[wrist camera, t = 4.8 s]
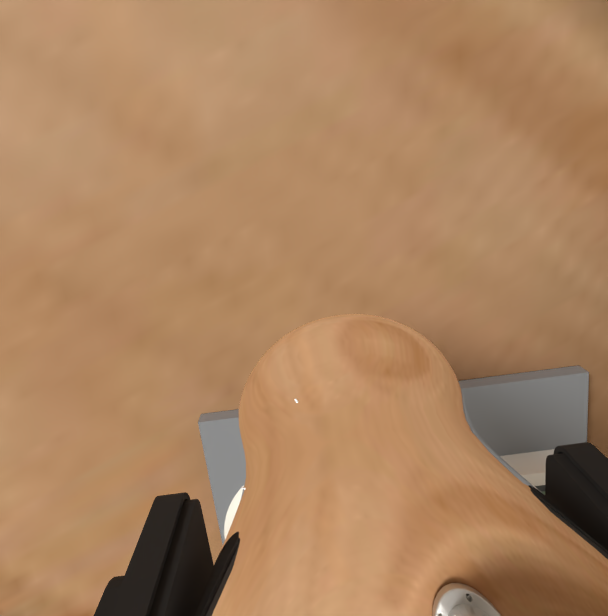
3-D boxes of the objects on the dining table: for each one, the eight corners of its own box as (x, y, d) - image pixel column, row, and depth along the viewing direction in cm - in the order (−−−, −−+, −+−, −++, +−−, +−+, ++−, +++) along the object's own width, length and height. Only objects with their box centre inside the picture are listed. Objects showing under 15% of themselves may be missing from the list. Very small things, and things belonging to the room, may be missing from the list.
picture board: (200, 414, 30) (191, 440, 27) (578, 365, 30) (610, 387, 27) (244, 630, 34) (240, 674, 31) (573, 589, 34) (600, 628, 31)
